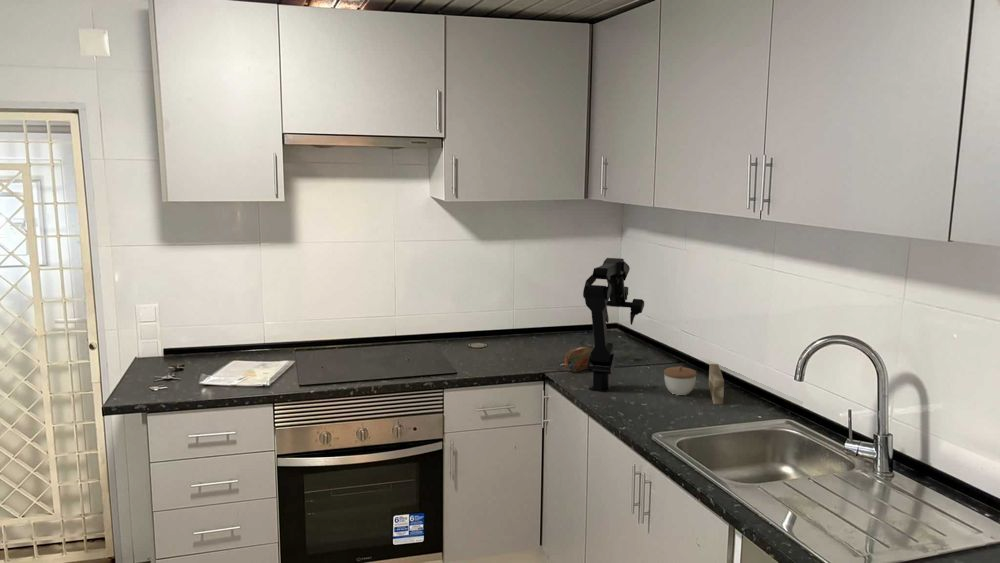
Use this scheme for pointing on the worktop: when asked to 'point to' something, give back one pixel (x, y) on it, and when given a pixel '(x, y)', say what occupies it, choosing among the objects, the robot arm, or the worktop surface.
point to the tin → (577, 359)
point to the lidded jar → (680, 380)
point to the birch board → (716, 384)
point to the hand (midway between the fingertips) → (619, 323)
